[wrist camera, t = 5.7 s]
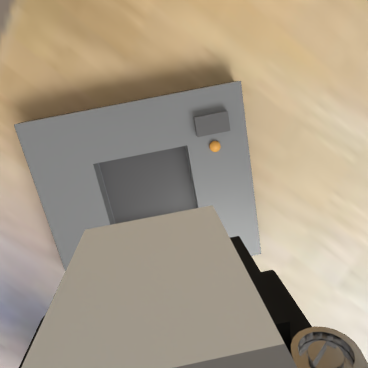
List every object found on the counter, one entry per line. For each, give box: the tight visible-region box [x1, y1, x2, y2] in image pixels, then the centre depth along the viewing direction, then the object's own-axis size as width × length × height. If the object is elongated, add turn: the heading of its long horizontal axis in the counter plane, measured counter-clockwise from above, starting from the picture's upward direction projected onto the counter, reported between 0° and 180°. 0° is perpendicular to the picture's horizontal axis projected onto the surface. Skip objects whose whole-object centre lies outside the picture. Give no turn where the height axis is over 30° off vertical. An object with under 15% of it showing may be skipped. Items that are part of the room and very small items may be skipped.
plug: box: [21, 205, 297, 368], centre depth 8 cm, size 4×5×6 cm
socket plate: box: [14, 81, 261, 271], centre depth 24 cm, size 16×14×3 cm
